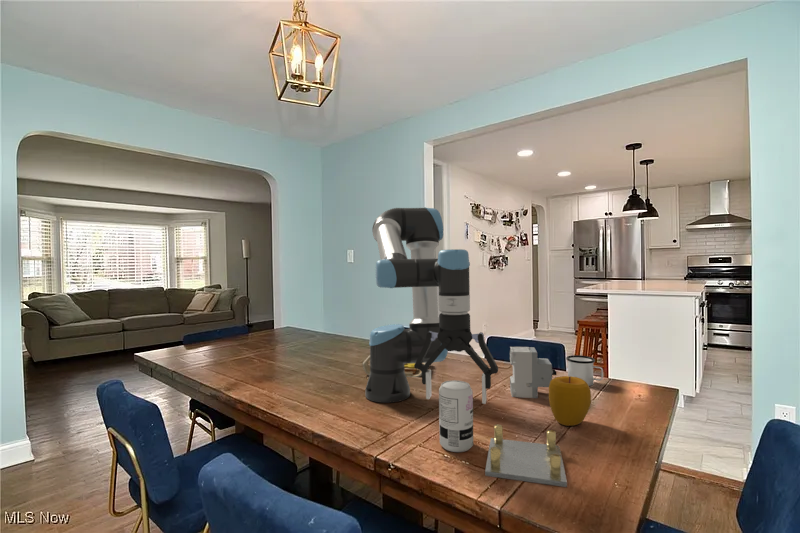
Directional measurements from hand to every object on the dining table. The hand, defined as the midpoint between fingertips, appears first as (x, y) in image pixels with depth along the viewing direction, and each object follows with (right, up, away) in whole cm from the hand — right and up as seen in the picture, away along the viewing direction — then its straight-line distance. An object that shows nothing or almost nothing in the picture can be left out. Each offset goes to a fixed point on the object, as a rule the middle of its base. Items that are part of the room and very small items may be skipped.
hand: (456, 399), depth 97 cm
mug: (+53, -10, +46) cm, 71 cm away
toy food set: (-15, -11, +68) cm, 70 cm away
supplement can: (0, -12, +1) cm, 12 cm away
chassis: (+14, -11, -8) cm, 20 cm away
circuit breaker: (+31, -11, +36) cm, 49 cm away
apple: (+33, -11, +12) cm, 37 cm away
